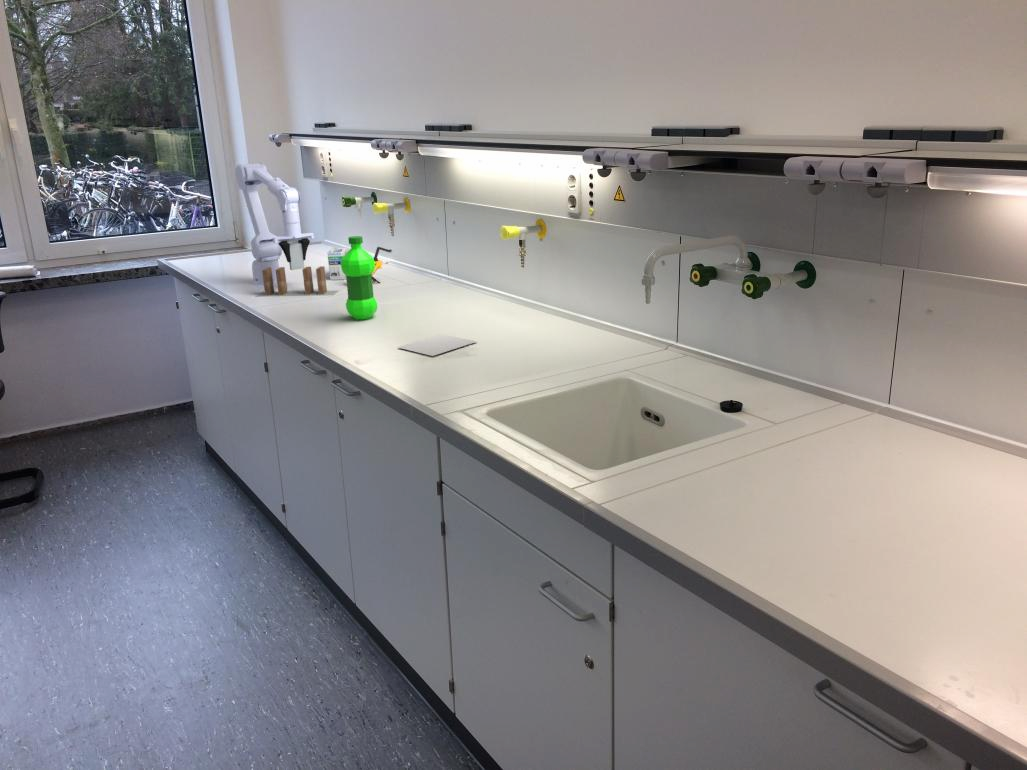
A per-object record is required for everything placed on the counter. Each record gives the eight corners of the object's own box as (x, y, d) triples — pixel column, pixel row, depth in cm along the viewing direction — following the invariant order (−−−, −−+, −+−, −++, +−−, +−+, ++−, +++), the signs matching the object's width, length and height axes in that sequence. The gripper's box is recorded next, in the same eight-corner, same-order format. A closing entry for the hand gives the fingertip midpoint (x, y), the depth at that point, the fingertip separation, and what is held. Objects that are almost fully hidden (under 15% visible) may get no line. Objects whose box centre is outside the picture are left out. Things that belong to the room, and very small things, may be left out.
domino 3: (305, 294, 295) (302, 269, 292) (309, 291, 300) (306, 266, 297) (309, 294, 295) (306, 269, 292) (313, 291, 300) (311, 266, 297)
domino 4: (318, 294, 295) (315, 269, 292) (322, 291, 299) (319, 266, 296) (323, 294, 295) (320, 269, 292) (327, 291, 299) (324, 266, 296)
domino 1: (265, 295, 296) (262, 270, 293) (270, 292, 301) (266, 267, 298) (269, 295, 296) (266, 270, 293) (274, 292, 301) (271, 267, 298)
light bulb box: (347, 279, 320) (344, 251, 317) (329, 280, 320) (326, 252, 317) (351, 274, 331) (348, 246, 327) (334, 275, 330) (331, 247, 327)
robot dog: (397, 282, 313) (394, 246, 309) (351, 288, 305) (347, 251, 300) (391, 279, 318) (388, 244, 313) (346, 286, 309) (342, 249, 305)
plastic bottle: (347, 323, 256) (339, 240, 248) (345, 315, 266) (337, 235, 258) (380, 319, 259) (373, 238, 251) (376, 312, 268) (370, 233, 260)
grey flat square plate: (502, 349, 225) (502, 347, 224) (434, 373, 207) (434, 370, 207) (442, 336, 240) (442, 333, 239) (373, 357, 222) (373, 354, 222)
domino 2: (278, 295, 296) (275, 269, 293) (283, 292, 300) (280, 267, 298) (283, 295, 296) (279, 269, 293) (287, 292, 300) (284, 267, 297)
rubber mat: (255, 297, 295) (255, 296, 295) (262, 292, 302) (262, 291, 302) (333, 296, 293) (333, 295, 293) (339, 291, 300) (339, 290, 300)
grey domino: (304, 268, 304) (301, 243, 301) (291, 270, 301) (288, 245, 298) (302, 267, 305) (299, 243, 302) (290, 269, 302) (287, 244, 300)
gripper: (275, 226, 291) (280, 265, 295) (315, 221, 299) (319, 259, 303) (268, 224, 296) (273, 262, 301) (308, 219, 304) (312, 257, 308)
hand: (296, 261), depth 302 cm, fingers closed on grey domino, 5 cm apart
